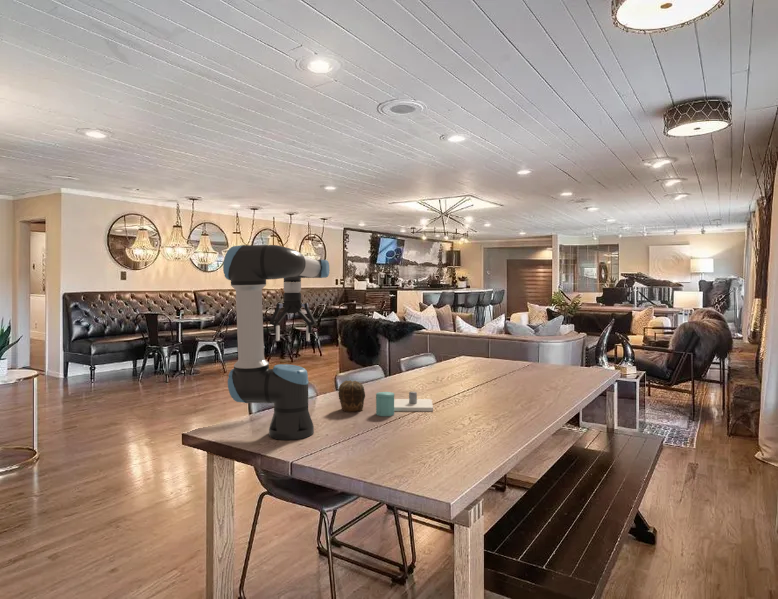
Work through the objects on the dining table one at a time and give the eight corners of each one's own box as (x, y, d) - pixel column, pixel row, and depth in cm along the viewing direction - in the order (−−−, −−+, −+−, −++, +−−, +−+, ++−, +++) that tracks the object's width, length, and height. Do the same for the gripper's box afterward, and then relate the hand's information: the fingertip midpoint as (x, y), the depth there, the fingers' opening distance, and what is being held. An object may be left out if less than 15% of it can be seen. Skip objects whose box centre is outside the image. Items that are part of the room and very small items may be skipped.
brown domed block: (333, 411, 204) (332, 382, 203) (347, 405, 213) (347, 377, 213) (356, 414, 198) (355, 384, 198) (370, 408, 208) (369, 379, 208)
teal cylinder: (394, 416, 196) (394, 395, 195) (375, 416, 196) (375, 395, 196) (394, 411, 203) (394, 391, 202) (376, 411, 203) (376, 391, 203)
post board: (433, 411, 203) (432, 396, 203) (393, 411, 204) (393, 396, 203) (431, 402, 218) (431, 388, 218) (394, 402, 219) (394, 388, 218)
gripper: (322, 291, 222) (322, 339, 223) (267, 292, 225) (268, 339, 226) (318, 292, 215) (318, 341, 215) (261, 292, 218) (262, 341, 218)
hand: (292, 340), depth 221 cm, fingers open, 13 cm apart
